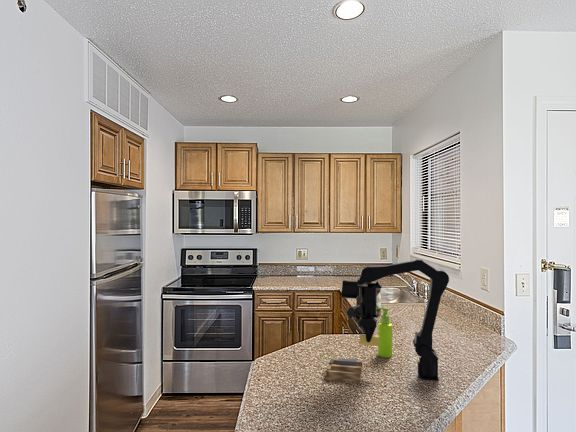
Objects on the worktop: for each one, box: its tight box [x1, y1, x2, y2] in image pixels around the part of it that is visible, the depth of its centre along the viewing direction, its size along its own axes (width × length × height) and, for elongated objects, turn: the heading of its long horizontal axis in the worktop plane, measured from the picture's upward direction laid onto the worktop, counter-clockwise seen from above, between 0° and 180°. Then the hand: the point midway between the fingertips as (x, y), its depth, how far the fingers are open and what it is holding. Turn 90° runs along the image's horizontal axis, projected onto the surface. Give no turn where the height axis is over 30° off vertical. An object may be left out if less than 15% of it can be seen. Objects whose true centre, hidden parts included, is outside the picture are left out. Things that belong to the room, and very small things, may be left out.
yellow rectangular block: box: [359, 333, 379, 347], centre depth 157 cm, size 7×3×3 cm, turn 76°
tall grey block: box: [337, 357, 358, 366], centre depth 157 cm, size 7×3×3 cm, turn 80°
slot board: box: [325, 358, 363, 384], centre depth 154 cm, size 12×14×3 cm
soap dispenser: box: [377, 306, 393, 358], centre depth 177 cm, size 6×7×20 cm
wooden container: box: [355, 282, 382, 317], centre depth 256 cm, size 15×15×22 cm
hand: (368, 340), depth 157 cm, fingers closed on yellow rectangular block, 3 cm apart
